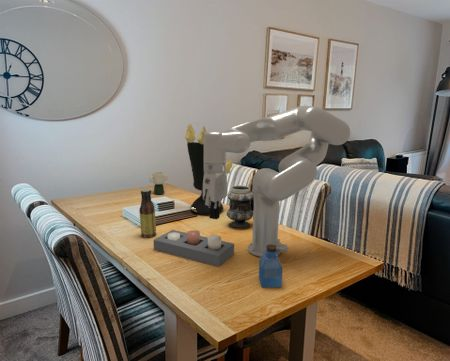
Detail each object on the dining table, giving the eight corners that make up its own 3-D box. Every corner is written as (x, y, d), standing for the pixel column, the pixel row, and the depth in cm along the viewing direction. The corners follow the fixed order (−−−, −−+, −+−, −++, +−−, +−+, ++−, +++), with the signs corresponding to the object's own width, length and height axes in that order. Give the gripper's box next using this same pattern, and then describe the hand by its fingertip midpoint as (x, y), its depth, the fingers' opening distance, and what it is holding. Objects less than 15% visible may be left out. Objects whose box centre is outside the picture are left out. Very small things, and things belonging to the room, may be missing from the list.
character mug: (165, 191, 214) (165, 171, 211) (169, 194, 208) (169, 173, 205) (148, 193, 209) (147, 172, 206) (152, 196, 203) (151, 174, 200)
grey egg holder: (234, 253, 128) (234, 243, 127) (218, 266, 117) (218, 255, 116) (172, 238, 140) (172, 229, 139) (153, 249, 130) (153, 239, 129)
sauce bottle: (149, 231, 148) (148, 186, 144) (159, 235, 144) (158, 189, 140) (137, 235, 143) (135, 189, 139) (146, 239, 139) (144, 192, 135)
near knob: (223, 248, 125) (223, 236, 124) (217, 253, 121) (217, 241, 120) (212, 246, 127) (212, 234, 126) (205, 250, 123) (205, 238, 122)
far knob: (182, 245, 134) (182, 233, 133) (175, 249, 130) (175, 237, 129) (172, 242, 136) (172, 231, 135) (165, 247, 132) (164, 235, 131)
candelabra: (232, 211, 177) (234, 123, 167) (201, 221, 161) (201, 124, 151) (207, 203, 190) (207, 121, 180) (176, 212, 174) (174, 122, 164)
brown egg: (202, 243, 129) (202, 231, 128) (195, 248, 125) (195, 236, 124) (191, 241, 131) (191, 229, 130) (184, 245, 127) (184, 233, 126)
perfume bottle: (277, 277, 111) (279, 242, 108) (281, 287, 105) (283, 250, 102) (258, 277, 111) (260, 242, 108) (261, 287, 105) (262, 250, 102)
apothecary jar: (256, 223, 159) (258, 186, 155) (246, 232, 149) (247, 192, 145) (233, 219, 165) (234, 183, 161) (221, 227, 154) (222, 188, 150)
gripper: (213, 172, 109) (213, 226, 113) (234, 165, 122) (233, 214, 126) (193, 169, 113) (194, 222, 117) (215, 163, 126) (215, 210, 130)
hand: (214, 218), depth 122 cm, fingers closed
